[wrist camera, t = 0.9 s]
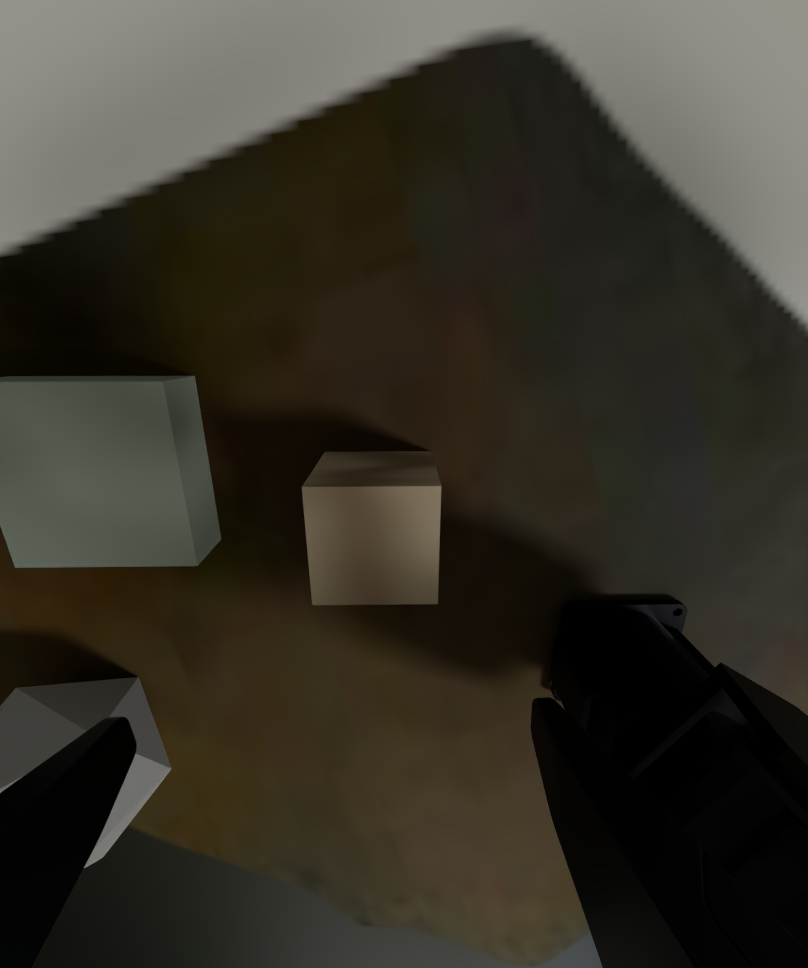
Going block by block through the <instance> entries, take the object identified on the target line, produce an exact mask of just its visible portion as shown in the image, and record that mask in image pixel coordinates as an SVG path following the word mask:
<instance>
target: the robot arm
mask: <svg viewBox="0 0 808 968" xmlns="http://www.w3.org/2000/svg"><path fill="white" fill-rule="evenodd" d="M575 609H576V611H575V612H573V613H571V611H572V610H575ZM675 609H677V610H675ZM674 610H675V611H674ZM686 615H687V608H686V606H685V605H684V604H683V603H681V602H680V601H679V600H615V601H570V602H568V603H566V604H565V605H564V607H563V610H562V617H561V624H560V631H559V637H557V639H556V640H555V642H554V648H553V655H552V662H551V669H550V678H551V680H552V685H551V692H552V694H553V696H554V698H555V699H556V700H559V701H561V702H562V704H563V706H564V709H565V710H564V709H563V708H562V707H561V706H560V705H559V704H558V703H557V702H556V701H555V700H554V699H552V698H535V699H534V700H533V702H532V715H531V734H532V739H533V743H534V748H535V752H536V756H537V760H538V764H539V768H540V772H541V777H542V781H543V785H544V789H545V793H546V797H547V802H548V806H549V809H550V813H551V817H552V820H553V823H554V827H555V830H556V833H557V836H558V839H559V842H560V844H561V847H562V850H563V853H564V856H565V859H566V862H567V865H568V868H569V871H570V873H571V876H572V879H573V882H574V885H575V888H576V891H577V894H578V897H579V900H580V903H581V905H582V908H583V911H584V914H585V917H586V920H587V923H588V926H589V929H590V932H591V935H592V937H593V940H594V943H595V946H596V949H597V952H598V955H599V958H600V961H601V963H602V967H603V968H808V716H807V715H806V714H805V713H804V712H802V711H801V710H800V709H799V708H797V707H796V706H794V705H793V704H791V703H789V702H788V701H786V700H784V699H782V698H781V697H779V696H777V695H776V694H774V693H772V692H770V691H769V690H767V689H765V688H764V687H762V686H760V685H758V684H757V683H755V682H753V681H752V680H750V679H748V678H747V677H745V676H743V675H741V674H740V673H738V672H736V671H735V670H733V669H731V668H729V667H728V666H726V665H724V664H723V663H720V664H718V665H717V666H716V667H714V666H713V665H712V664H711V663H710V662H709V661H708V660H707V659H706V658H705V657H704V656H703V655H702V654H701V653H700V652H699V651H698V650H697V649H696V648H695V647H694V646H693V645H692V644H691V643H690V642H689V641H688V640H687V638H686V637H685V636H684V635H683V634H682V630H683V626H684V622H685V618H686ZM136 749H137V743H136V739H135V737H134V734H133V731H132V728H131V725H130V722H129V720H128V719H127V718H126V717H108V718H105V719H103V720H102V721H100V722H99V723H97V724H96V725H94V726H93V727H92V728H90V729H89V730H87V731H86V732H85V733H83V734H82V735H80V736H79V737H78V738H76V739H75V740H73V741H72V742H71V743H69V744H68V745H66V746H65V747H64V748H62V749H61V750H59V751H58V752H57V753H55V754H54V755H52V756H51V757H50V758H48V759H47V760H45V761H44V762H43V763H41V764H40V765H38V766H37V767H36V768H34V769H33V770H31V771H30V772H29V773H27V774H26V775H24V776H23V777H22V778H20V779H19V780H17V781H16V782H15V783H13V784H12V785H10V786H9V787H8V788H6V789H5V790H3V791H2V792H1V793H0V968H32V966H33V965H34V963H35V961H36V959H37V957H38V955H39V953H40V951H41V949H42V947H43V945H44V943H45V942H46V940H47V938H48V936H49V934H50V932H51V930H52V928H53V926H54V924H55V922H56V921H57V919H58V917H59V915H60V913H61V911H62V909H63V907H64V905H65V903H66V901H67V899H68V898H69V896H70V894H71V892H72V890H73V888H74V886H75V884H76V882H77V880H78V879H79V877H80V875H81V873H82V871H83V869H84V867H85V865H86V863H87V861H88V859H89V857H90V856H91V854H92V852H93V850H94V848H95V846H96V844H97V842H98V840H99V838H100V836H101V833H102V831H103V829H104V827H105V825H106V823H107V820H108V818H109V816H110V813H111V811H112V808H113V806H114V804H115V801H116V799H117V797H118V794H119V792H120V790H121V787H122V785H123V783H124V780H125V778H126V776H127V773H128V771H129V769H130V766H131V764H132V762H133V759H134V757H135V754H136Z"/></svg>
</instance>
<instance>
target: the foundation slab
mask: <svg viewBox="0 0 808 968" xmlns="http://www.w3.org/2000/svg"><path fill="white" fill-rule="evenodd" d="M0 526H1V529H2V532H3V535H4V538H5V540H6V543H7V546H8V549H9V552H10V554H11V557H12V560H13V563H14V566H15V568H38V567H149V566H198V565H199V564H200V563H201V562H202V561H203V559H204V558H205V557H206V556H207V555H208V554H209V553H210V551H211V550H212V549H213V548H214V547H215V546H216V545H217V544H218V542H219V541H220V540H221V534H220V528H219V522H218V516H217V509H216V503H215V497H214V491H213V485H212V479H211V473H210V467H209V460H208V454H207V448H206V442H205V436H204V430H203V424H202V418H201V411H200V405H199V399H198V393H197V387H196V381H195V376H7V377H0Z"/></svg>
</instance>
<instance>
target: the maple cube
mask: <svg viewBox="0 0 808 968" xmlns="http://www.w3.org/2000/svg"><path fill="white" fill-rule="evenodd" d="M302 496H303V507H304V518H305V530H306V541H307V552H308V563H309V574H310V586H311V597H312V605H399V604H438V581H439V547H440V513H441V483H440V480H439V477H438V473H437V470H436V466H435V463H434V460H433V456H432V453H431V451H370V452H324V454H323V455H322V457H321V458H320V460H319V461H318V463H317V464H316V466H315V468H314V469H313V471H312V472H311V474H310V475H309V477H308V478H307V480H306V481H305V483H304V484H303V486H302Z"/></svg>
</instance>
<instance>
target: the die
mask: <svg viewBox="0 0 808 968" xmlns="http://www.w3.org/2000/svg"><path fill="white" fill-rule="evenodd" d="M108 717H126V718H127V719H128V720H129V722H130V725H131V728H132V731H133V734H134V737H135V739H136V743H137V749H136V754H135V757H134V759H133V762H132V764H131V766H130V769H129V771H128V773H127V776H126V778H125V780H124V783H123V785H122V787H121V790H120V792H119V794H118V797H117V799H116V801H115V804H114V806H113V808H112V811H111V813H110V816H109V818H108V820H107V823H106V825H105V827H104V829H103V831H102V833H101V836H100V838H99V840H98V842H97V844H96V846H95V848H94V850H93V852H92V854H91V856H90V857H89V859H88V861H87V863H86V865H85V867H87V866H89V865H91V864H92V863H94V862H96V861H97V860H99V859H101V858H103V857H104V855H105V854H106V853H107V851H108V850H109V849H110V848H111V846H112V845H113V844H114V842H115V841H116V840H117V838H118V837H119V836H120V835H121V833H122V832H123V831H124V830H125V828H126V827H127V826H128V824H129V823H130V822H131V821H132V819H133V818H134V817H135V815H136V814H137V813H138V812H139V810H140V809H141V808H142V806H143V805H144V804H145V803H146V801H147V800H148V799H149V797H150V796H151V795H152V793H153V792H154V791H155V790H156V788H157V787H158V786H159V784H160V783H161V782H162V781H163V779H164V778H165V777H166V775H167V774H168V773H169V772H170V770H171V766H170V763H169V760H168V757H167V755H166V752H165V749H164V746H163V743H162V741H161V738H160V735H159V732H158V730H157V727H156V724H155V721H154V718H153V716H152V713H151V710H150V707H149V704H148V702H147V699H146V696H145V693H144V690H143V688H142V685H141V682H140V679H139V677H133V678H121V679H110V680H99V681H87V682H76V683H65V684H53V685H42V686H31V687H20V688H15V689H14V690H13V692H12V693H11V694H10V695H9V696H8V698H7V699H6V700H5V701H4V702H3V703H2V705H1V706H0V793H1V792H2V791H3V790H5V789H6V788H8V787H9V786H10V785H12V784H13V783H15V782H16V781H17V780H19V779H20V778H22V777H23V776H24V775H26V774H27V773H29V772H30V771H31V770H33V769H34V768H36V767H37V766H38V765H40V764H41V763H43V762H44V761H45V760H47V759H48V758H50V757H51V756H52V755H54V754H55V753H57V752H58V751H59V750H61V749H62V748H64V747H65V746H66V745H68V744H69V743H71V742H72V741H73V740H75V739H76V738H78V737H79V736H80V735H82V734H83V733H85V732H86V731H87V730H89V729H90V728H92V727H93V726H94V725H96V724H97V723H99V722H100V721H102V720H103V719H105V718H108ZM85 867H84V868H85Z"/></svg>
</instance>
